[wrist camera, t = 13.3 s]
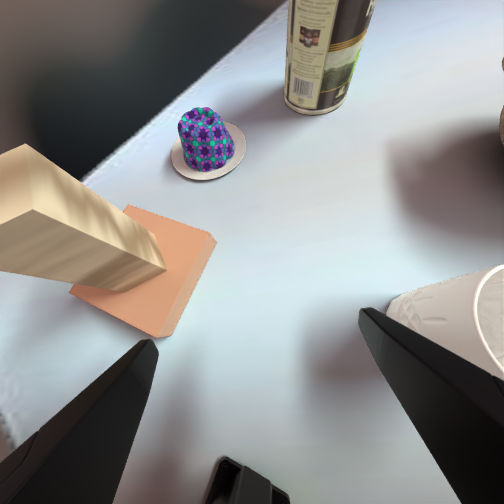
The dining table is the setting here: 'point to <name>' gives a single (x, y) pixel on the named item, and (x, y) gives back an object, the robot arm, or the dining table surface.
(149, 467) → the dining table surface
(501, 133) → the cooking pot
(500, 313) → the white cup
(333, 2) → the coffee can
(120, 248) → the maple block
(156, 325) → the terracotta base
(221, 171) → the pudding
